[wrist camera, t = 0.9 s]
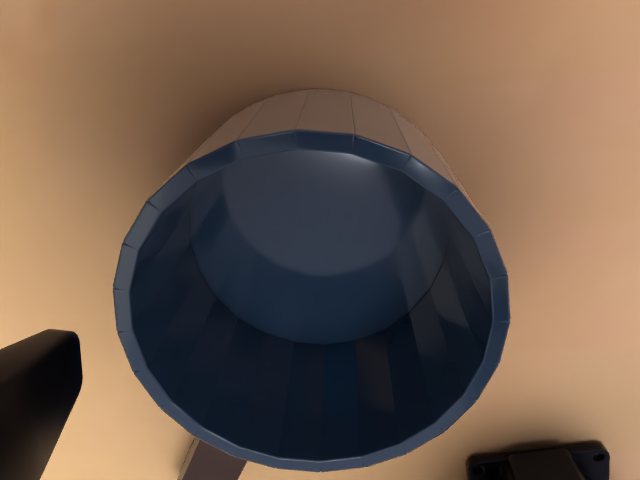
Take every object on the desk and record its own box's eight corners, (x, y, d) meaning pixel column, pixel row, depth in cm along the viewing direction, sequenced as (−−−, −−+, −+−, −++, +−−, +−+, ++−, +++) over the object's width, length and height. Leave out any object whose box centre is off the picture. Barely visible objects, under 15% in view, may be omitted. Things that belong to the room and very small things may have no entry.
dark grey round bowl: (468, 326, 23) (518, 451, 17) (221, 360, 24) (178, 489, 18) (444, 61, 19) (498, 92, 12) (145, 118, 20) (52, 173, 13)
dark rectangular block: (220, 485, 27) (207, 539, 25) (179, 471, 27) (161, 524, 24) (270, 385, 25) (261, 433, 22) (225, 368, 24) (210, 415, 22)
